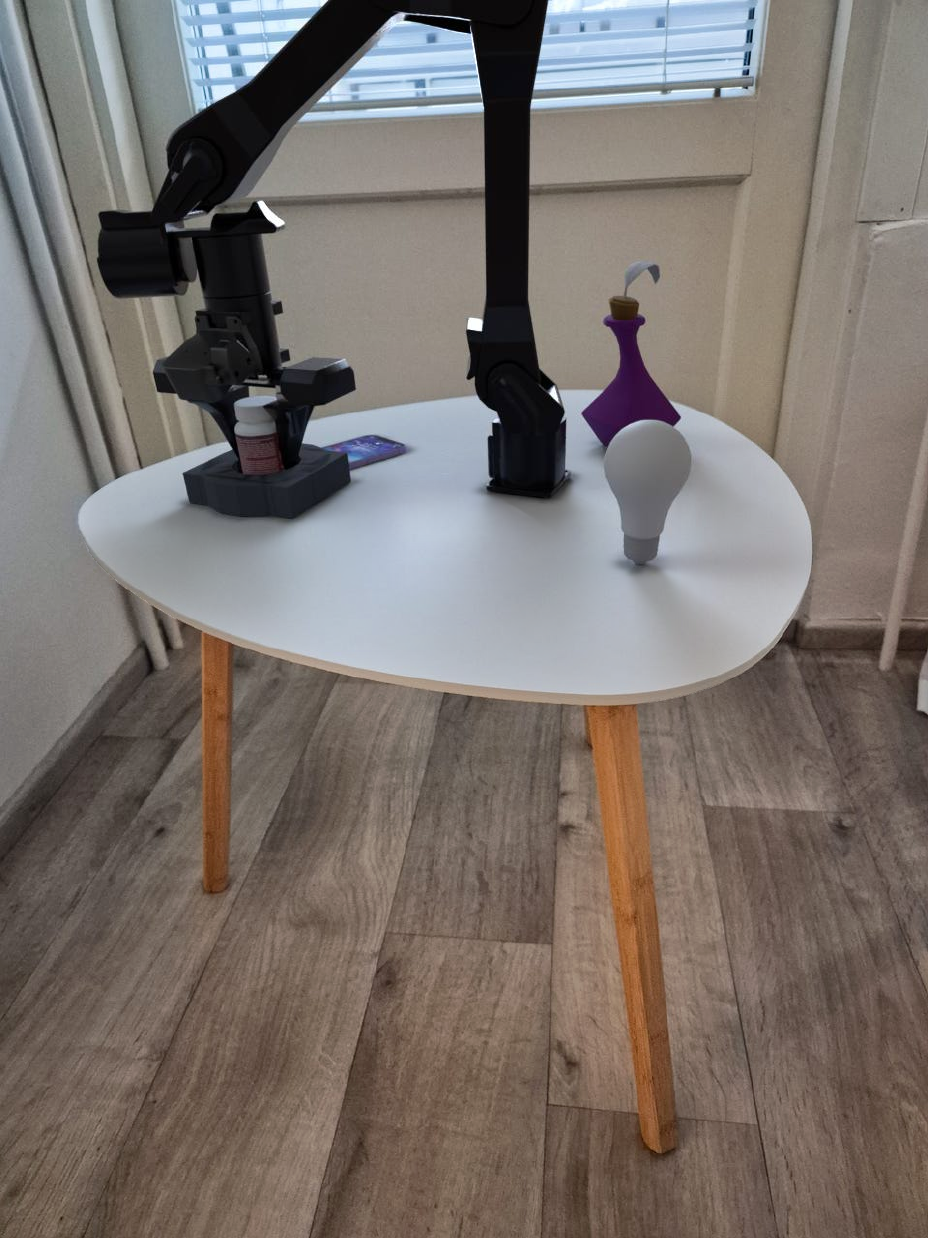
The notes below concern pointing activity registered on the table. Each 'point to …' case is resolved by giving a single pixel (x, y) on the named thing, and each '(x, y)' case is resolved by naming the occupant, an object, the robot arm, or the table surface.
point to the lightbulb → (646, 481)
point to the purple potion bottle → (628, 372)
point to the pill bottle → (257, 436)
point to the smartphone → (368, 449)
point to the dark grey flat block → (268, 484)
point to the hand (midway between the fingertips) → (268, 467)
